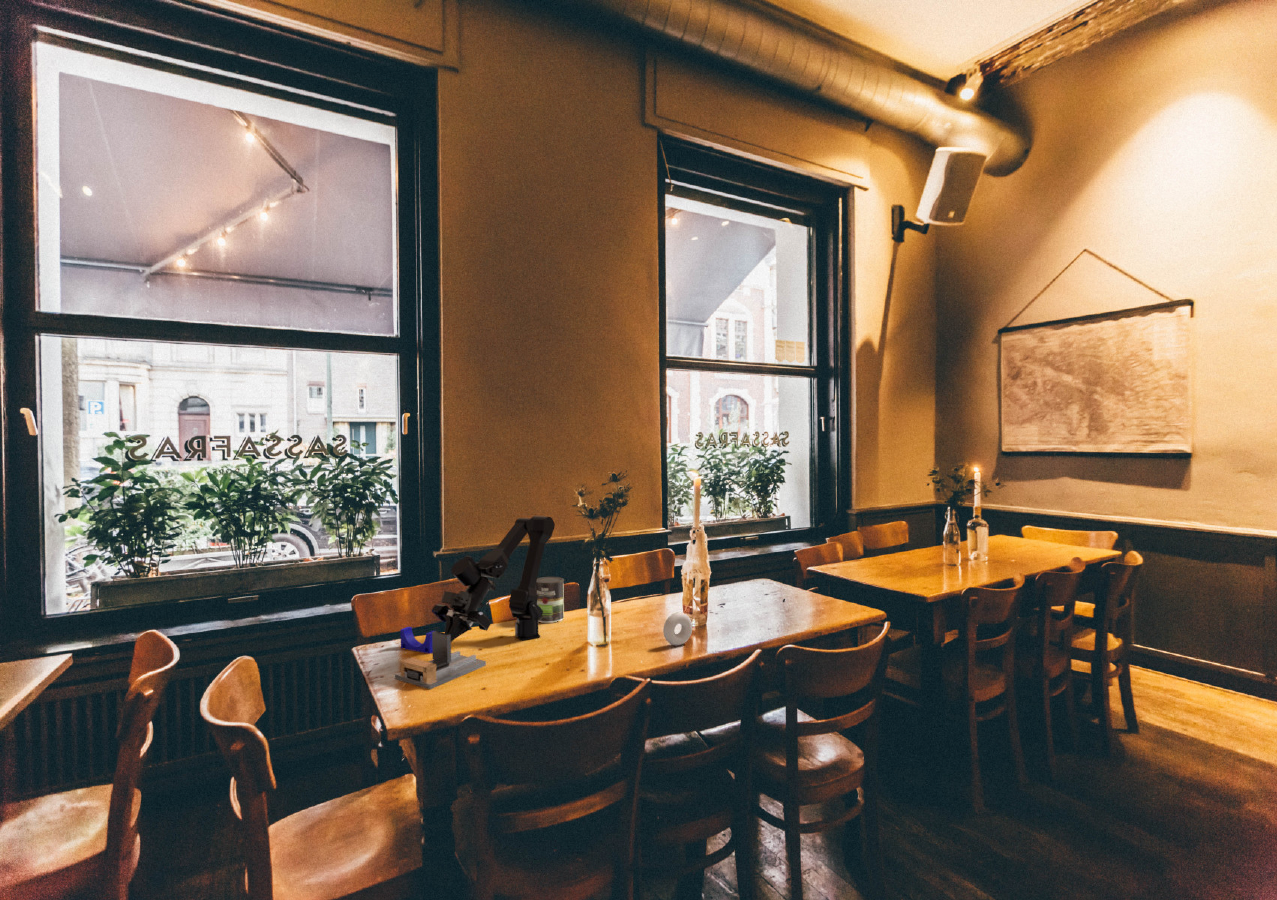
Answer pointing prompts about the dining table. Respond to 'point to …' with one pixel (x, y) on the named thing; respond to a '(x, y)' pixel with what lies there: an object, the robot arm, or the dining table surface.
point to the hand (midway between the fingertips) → (444, 644)
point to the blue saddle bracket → (415, 641)
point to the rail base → (438, 670)
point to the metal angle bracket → (437, 653)
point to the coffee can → (550, 598)
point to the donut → (670, 626)
